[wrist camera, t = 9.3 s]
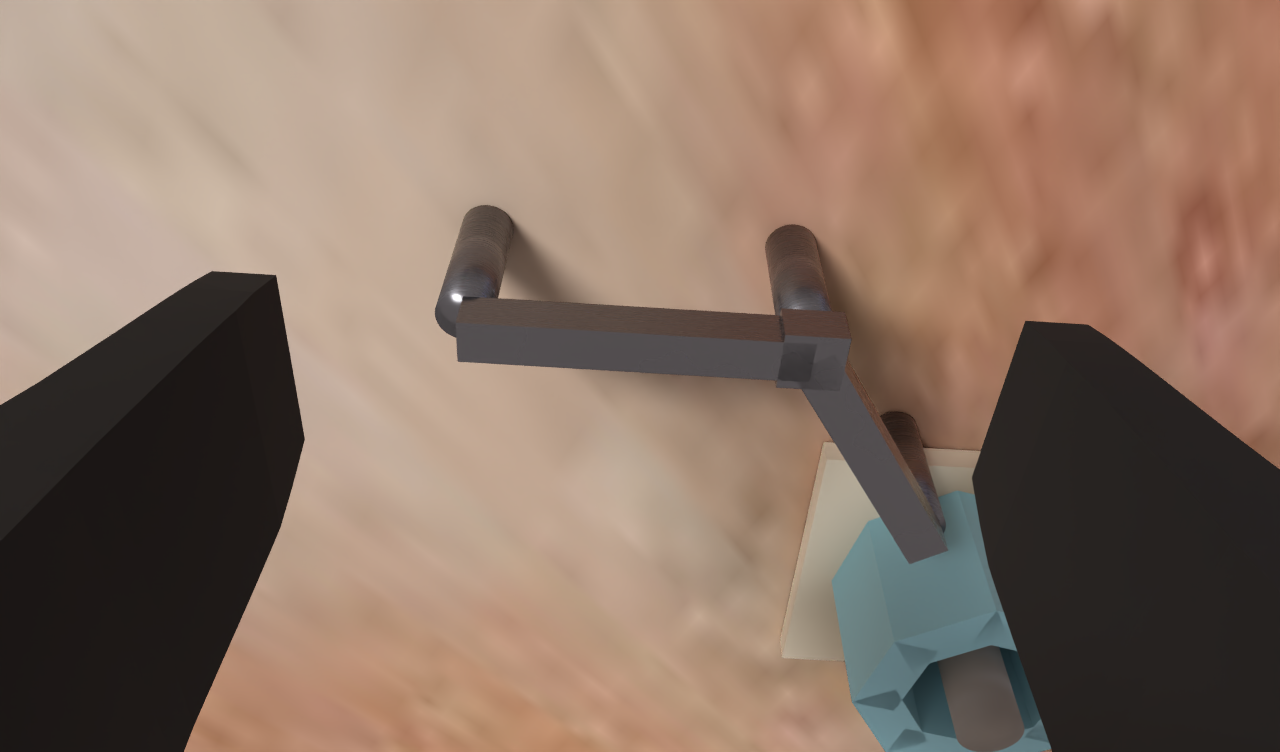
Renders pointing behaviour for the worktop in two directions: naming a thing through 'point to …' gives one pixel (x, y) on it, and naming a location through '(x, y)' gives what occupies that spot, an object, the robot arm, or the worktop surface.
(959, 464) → the peg stand
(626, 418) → the worktop surface
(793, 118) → the worktop surface
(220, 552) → the robot arm
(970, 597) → the ring
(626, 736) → the worktop surface
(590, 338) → the handle
